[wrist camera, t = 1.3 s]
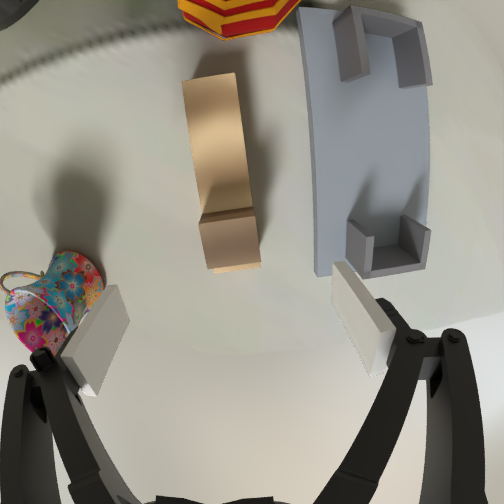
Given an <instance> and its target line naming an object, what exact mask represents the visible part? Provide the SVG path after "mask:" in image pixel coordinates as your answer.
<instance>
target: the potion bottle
mask: <svg viewBox="0 0 504 504" xmlns="http://www.w3.org/2000/svg"><path fill="white" fill-rule="evenodd" d="M177 1H178V8H179V9H181V10H182V11H183V17H184V19H185V20H186V21H188V22H189V23H191V24H193V25H195V26H197V27H199V28H201V29H203V30H205V31H207V32H209V33H210V34H212V35H214V36H216V37H218V38H220V39H221V40H223V41H226V40H230V39H235V38H240V37H245V36H250V35H256V34H262V33H268V32H271V31H273V30H275V29H276V27H277V26H278V25H279V24H280V23H281V22H282V20H283V19H284V18H285V17H286V16H287V15H288V14H289V13H290V12H291V10H292V9H293V8H294V7H295V6H296V5H297V4H298V3H299V2H300V1H301V0H177ZM200 25H201V26H200ZM202 26H203V27H205V28H207V29H209V30H211V31H214V32H216V33H218V34H220V35H222V36H224V37H226V39H222V38H221V37H219V36H217V35H216V34H214V33H212V32H210V31H209V30H207V29H205V28H203V27H202ZM233 36H234V37H233ZM228 37H230V38H228Z"/></svg>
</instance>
